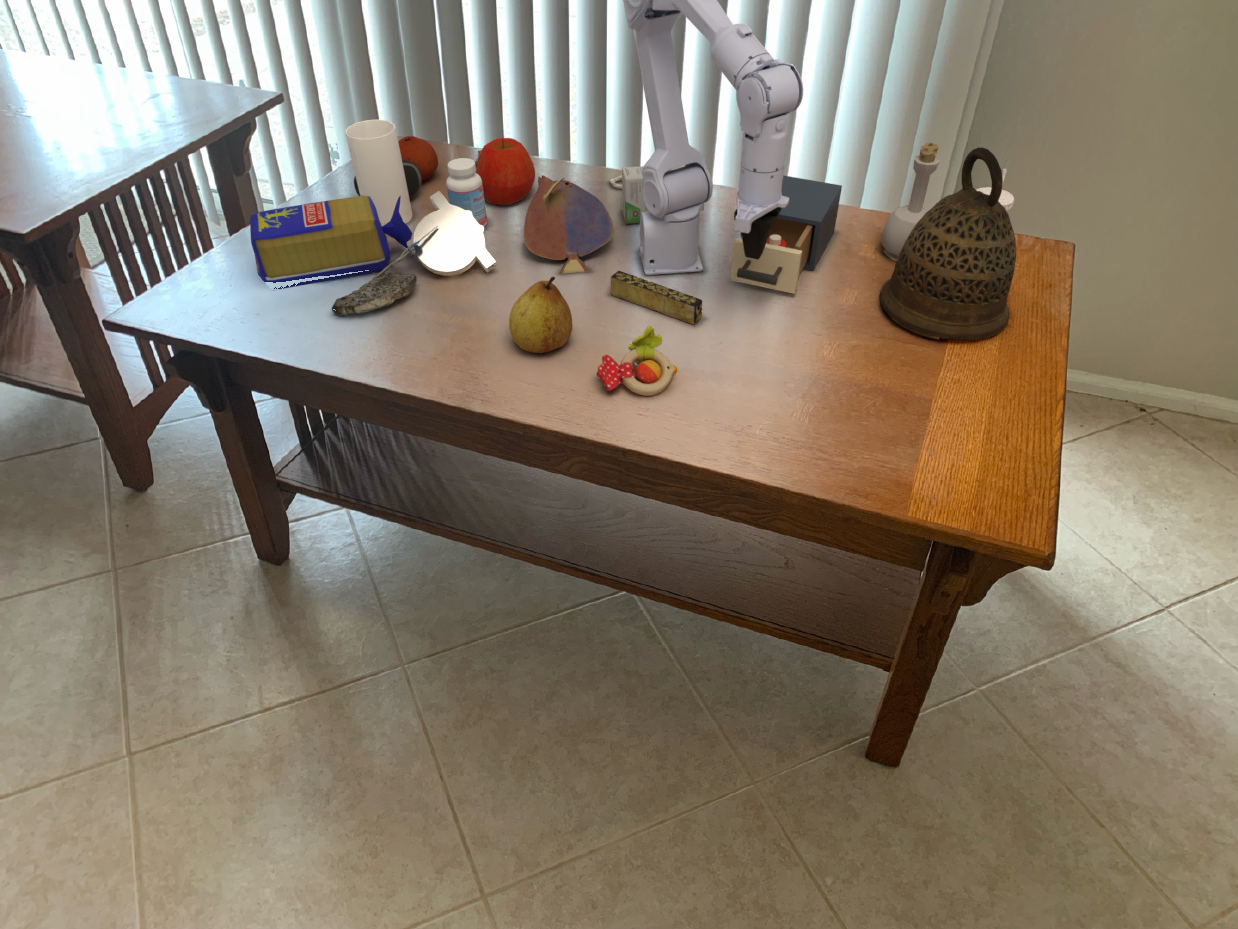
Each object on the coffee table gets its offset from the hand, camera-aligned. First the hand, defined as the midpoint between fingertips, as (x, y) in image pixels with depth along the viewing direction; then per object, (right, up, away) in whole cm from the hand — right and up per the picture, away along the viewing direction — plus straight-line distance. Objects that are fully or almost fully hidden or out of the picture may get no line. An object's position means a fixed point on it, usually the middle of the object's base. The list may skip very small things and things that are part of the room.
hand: (753, 255), depth 123 cm
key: (-16, +21, +37) cm, 45 cm away
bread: (-67, +3, +23) cm, 71 cm away
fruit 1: (-58, +25, +43) cm, 76 cm away
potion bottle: (+28, +5, +20) cm, 35 cm away
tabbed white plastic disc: (-43, +9, +20) cm, 48 cm away
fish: (-28, +7, +23) cm, 37 cm away
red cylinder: (+5, +2, +13) cm, 14 cm away
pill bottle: (-45, +12, +29) cm, 55 cm away
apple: (-40, +20, +36) cm, 57 cm away
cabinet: (+10, +7, +22) cm, 25 cm away
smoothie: (+40, +5, +20) cm, 45 cm away
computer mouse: (-62, +23, +35) cm, 75 cm away
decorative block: (-14, -6, +9) cm, 17 cm away
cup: (-60, +14, +32) cm, 70 cm away
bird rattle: (-13, -19, -7) cm, 24 cm away
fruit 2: (-30, -12, +2) cm, 33 cm away
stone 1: (-58, 0, +9) cm, 58 cm away
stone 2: (-46, +29, +40) cm, 68 cm away
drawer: (+5, 0, +14) cm, 14 cm away
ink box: (-19, +17, +27) cm, 37 cm away
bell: (+30, -6, +7) cm, 31 cm away
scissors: (-54, +3, +14) cm, 56 cm away
